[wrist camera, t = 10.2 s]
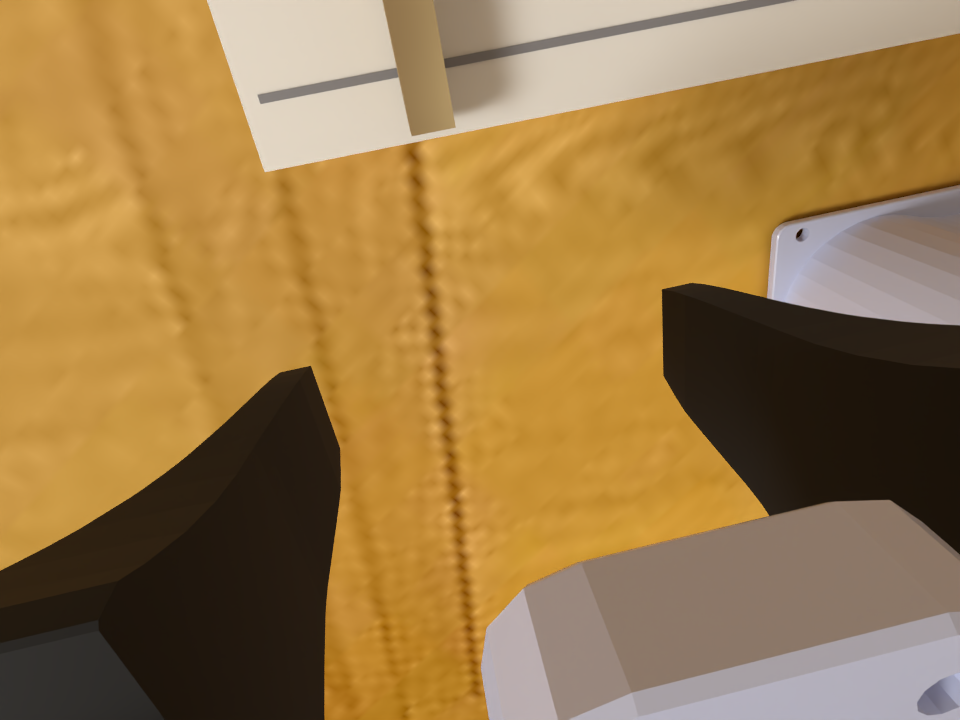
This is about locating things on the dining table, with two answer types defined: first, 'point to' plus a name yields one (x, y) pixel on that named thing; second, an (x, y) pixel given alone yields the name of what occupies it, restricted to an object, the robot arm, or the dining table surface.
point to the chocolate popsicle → (420, 64)
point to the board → (523, 58)
